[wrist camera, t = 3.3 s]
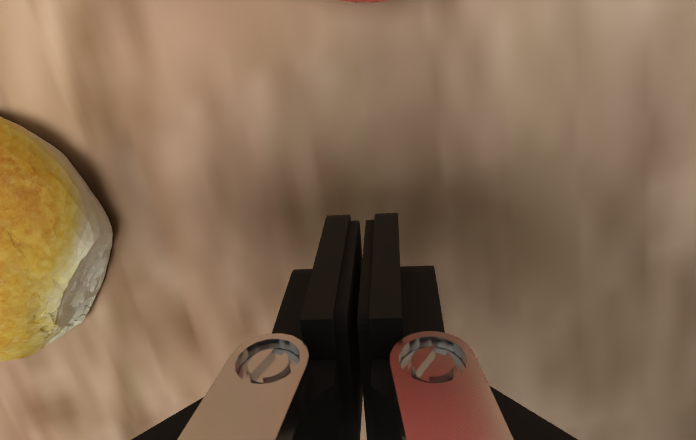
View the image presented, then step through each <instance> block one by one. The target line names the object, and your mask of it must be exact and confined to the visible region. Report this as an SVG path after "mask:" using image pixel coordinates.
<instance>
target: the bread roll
mask: <svg viewBox="0 0 696 440" xmlns="http://www.w3.org/2000/svg"><path fill="white" fill-rule="evenodd" d="M112 237H113V233H112V226H111V224H110V221H109V219H108V217H107V215H106V213H105V211H104V209H103V208H102V206H101V204H100V203H99V201H98V200H97V198H96V197H95V195H94V194H93V193H92V192H91V190H90V188H89V187H88V185H87V184H86V182H85V181H84V180H83V178H82V177H81V176H80V174H79V173H78V172H77V171H76V169H75V168H74V167H73V165H72V164H71V163H70V161H69V160H68V159H67V157H66V156H65V155H64V154H63V153H61V152H60V151H59V150H58V149H57V148H55V147H54V146H53V145H51V144H49V143H48V142H46V141H45V140H43V139H41V138H40V137H38V136H37V135H35V134H34V133H32V132H30V131H28V130H27V129H25V128H24V127H22V126H20V125H18V124H16V123H14V122H11V121H9V120H6V119H4V118H2V117H1V116H0V362H1V361H8V360H12V359H19V358H24V357H28V356H30V355H32V354H33V353H35V352H37V351H39V350H40V349H42V348H43V347H44V346H45V345H47V344H50V343H52V342H54V341H55V340H57V339H59V338H60V337H62V336H63V335H64V334H65V333H66V332H67V331H69V330H71V329H72V328H74V327H75V326H76V325H77V324H80V323H82V322H83V320H84V319H85V317H86V315H87V313H88V311H89V309H90V307H91V306H92V304H93V301H94V299H95V297H96V295H97V293H98V291H99V289H100V287H101V285H102V282H103V279H104V276H105V273H106V268H107V264H108V262H109V256H110V250H111V247H112Z"/></svg>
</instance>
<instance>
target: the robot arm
mask: <svg viewBox="0 0 696 440" xmlns="http://www.w3.org/2000/svg"><path fill="white" fill-rule="evenodd" d="M362 398H364V409H365V421H366V432H367V440H577V439H576V438H574V437H572V436H571V435H569V434H567V433H566V432H564V431H563V430H561V429H559V428H558V427H556V426H554V425H553V424H551V423H549V422H548V421H546V420H545V419H543V418H541V417H540V416H538V415H536V414H535V413H533V412H532V411H530V410H528V409H527V408H525V407H523V406H522V405H520V404H518V403H517V402H515V401H514V400H512V399H510V398H509V397H507V396H505V395H504V394H502V393H500V392H499V391H497V390H496V389H494V388H492V387H491V386H489V384H488V382H487V380H486V378H485V376H484V373H483V371H482V369H481V367H480V365H479V362H478V360H477V358H476V356H475V354H474V352H473V351H472V349H471V348H470V347H469V345H468V344H466V343H465V342H464V341H462V340H461V339H460V338H458V337H455V336H453V335H450V334H448V333H445V331H444V325H443V319H442V313H441V306H440V300H439V294H438V288H437V281H436V275H435V269H434V266H405V267H400V254H399V229H398V213H386V214H375V220H366V226H365V236H364V247H363V258H362V247H361V234H360V223H359V221H351V217H350V215H335V216H327V217H326V220H325V224H324V228H323V232H322V236H321V239H320V243H319V247H318V251H317V255H316V258H315V262H314V266H313V269H299V270H293V272H292V274H291V277H290V280H289V283H288V286H287V289H286V292H285V295H284V298H283V301H282V304H281V307H280V310H279V313H278V316H277V319H276V322H275V325H274V328H273V331H272V334H266V335H261V336H257V337H255V338H253V339H250V340H248V341H246V342H245V343H243V344H242V345H240V346H239V347H238V348H236V350H235V351H234V352H233V353H232V354H231V355H230V357H229V358H228V360H227V362H226V363H225V365H224V366H223V368H222V369H221V371H220V373H219V374H218V376H217V377H216V379H215V381H214V382H213V384H212V385H211V387H210V388H209V390H208V392H207V393H206V395H205V396H204V397H203V398H201V399H200V400H198V401H196V402H195V403H193V404H191V405H190V406H188V407H186V408H184V409H183V410H181V411H179V412H178V413H176V414H174V415H173V416H171V417H169V418H167V419H166V420H164V421H162V422H161V423H159V424H157V425H156V426H154V427H152V428H150V429H149V430H147V431H145V432H144V433H142V434H140V435H139V436H137V437H135V438H133V439H132V440H360V431H361V414H362Z"/></svg>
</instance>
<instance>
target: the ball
mask: <svg viewBox="0 0 696 440" xmlns="http://www.w3.org/2000/svg"><path fill="white" fill-rule="evenodd" d="M342 1H350V2H380V1H387V0H342Z"/></svg>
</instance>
